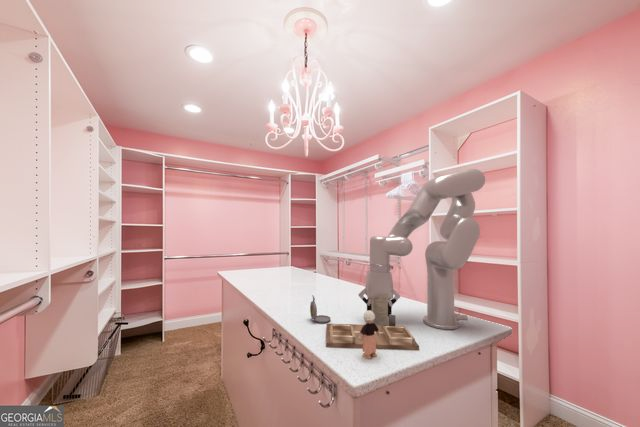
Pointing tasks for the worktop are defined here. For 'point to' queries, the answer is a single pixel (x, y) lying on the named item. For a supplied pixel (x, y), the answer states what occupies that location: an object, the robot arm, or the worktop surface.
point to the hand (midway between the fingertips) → (379, 315)
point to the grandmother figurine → (369, 335)
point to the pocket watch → (314, 314)
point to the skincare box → (380, 309)
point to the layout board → (388, 336)
